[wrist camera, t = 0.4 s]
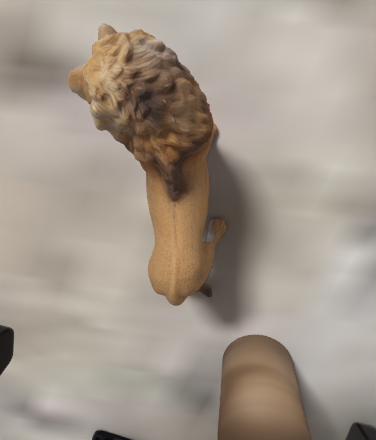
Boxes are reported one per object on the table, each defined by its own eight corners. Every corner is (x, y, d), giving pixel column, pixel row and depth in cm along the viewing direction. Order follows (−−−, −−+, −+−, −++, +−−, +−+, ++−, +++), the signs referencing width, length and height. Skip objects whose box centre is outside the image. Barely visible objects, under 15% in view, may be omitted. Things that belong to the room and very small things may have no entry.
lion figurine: (119, 80, 18) (17, 34, 10) (205, 54, 17) (174, -22, 9) (177, 296, 22) (137, 402, 13) (252, 286, 21) (261, 395, 12)
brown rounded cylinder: (281, 399, 23) (295, 489, 17) (216, 381, 23) (208, 461, 18) (301, 345, 21) (325, 423, 16) (231, 326, 22) (229, 395, 16)
